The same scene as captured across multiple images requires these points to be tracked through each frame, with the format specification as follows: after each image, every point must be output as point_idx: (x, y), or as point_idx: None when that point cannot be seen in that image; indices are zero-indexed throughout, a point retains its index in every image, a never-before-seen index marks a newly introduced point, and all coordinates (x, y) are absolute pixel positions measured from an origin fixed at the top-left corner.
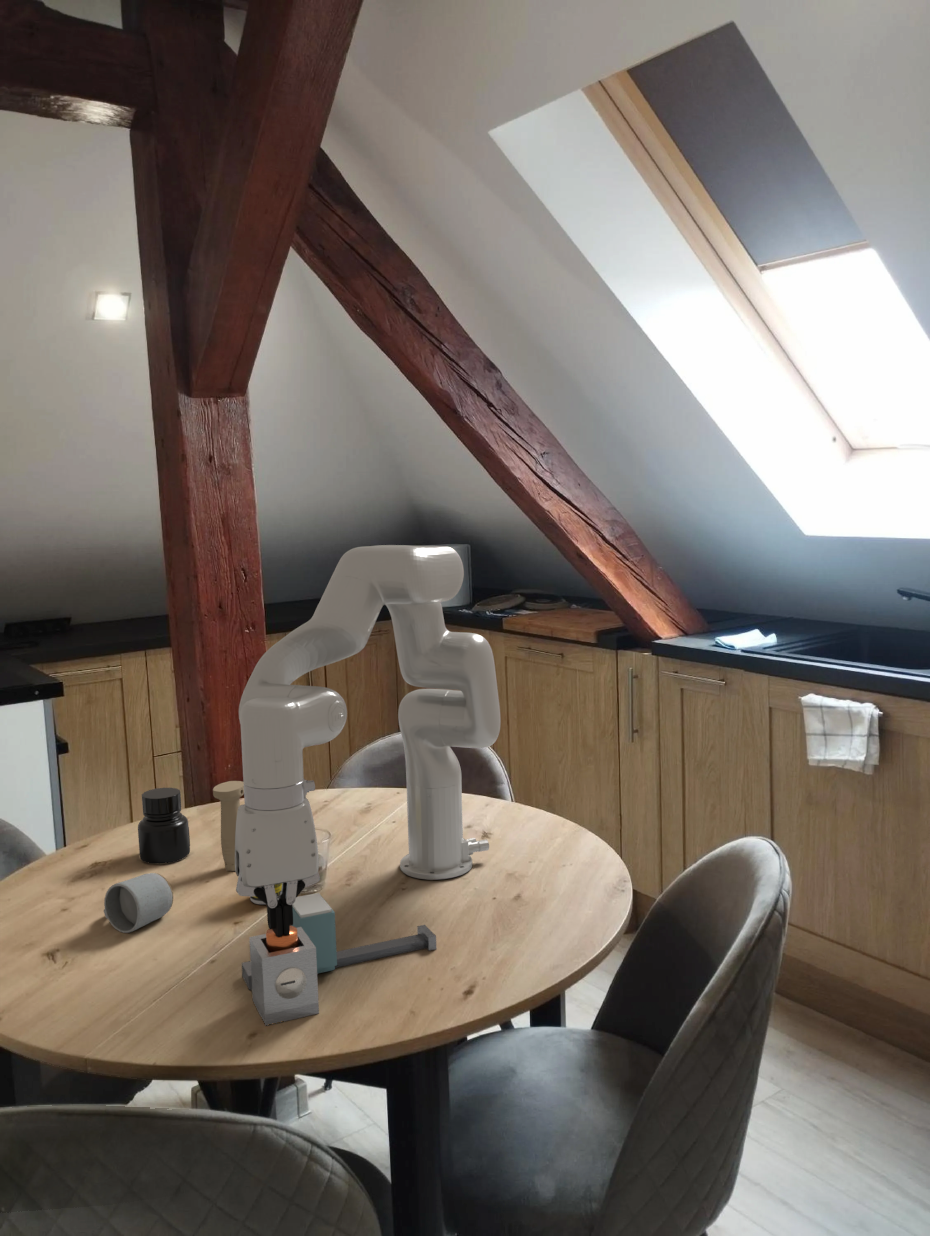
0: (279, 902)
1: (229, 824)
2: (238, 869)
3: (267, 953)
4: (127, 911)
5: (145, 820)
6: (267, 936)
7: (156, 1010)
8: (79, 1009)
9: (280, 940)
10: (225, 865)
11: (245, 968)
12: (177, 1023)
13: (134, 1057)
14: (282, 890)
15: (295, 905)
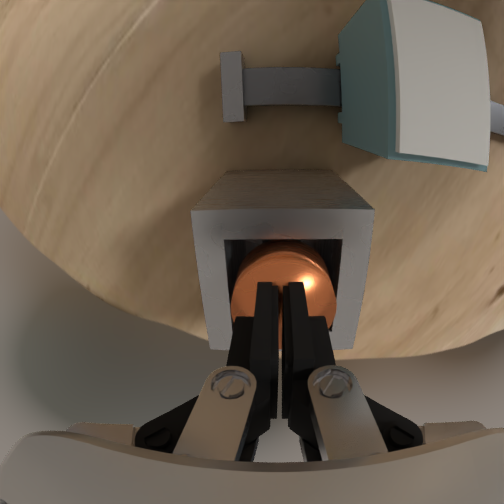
0: (284, 386)
1: None
2: (11, 454)
3: (228, 332)
4: None
5: None
6: (232, 317)
7: (75, 143)
8: (5, 114)
9: None
10: None
11: (223, 82)
12: (102, 197)
13: (65, 264)
14: (311, 415)
15: (404, 58)
